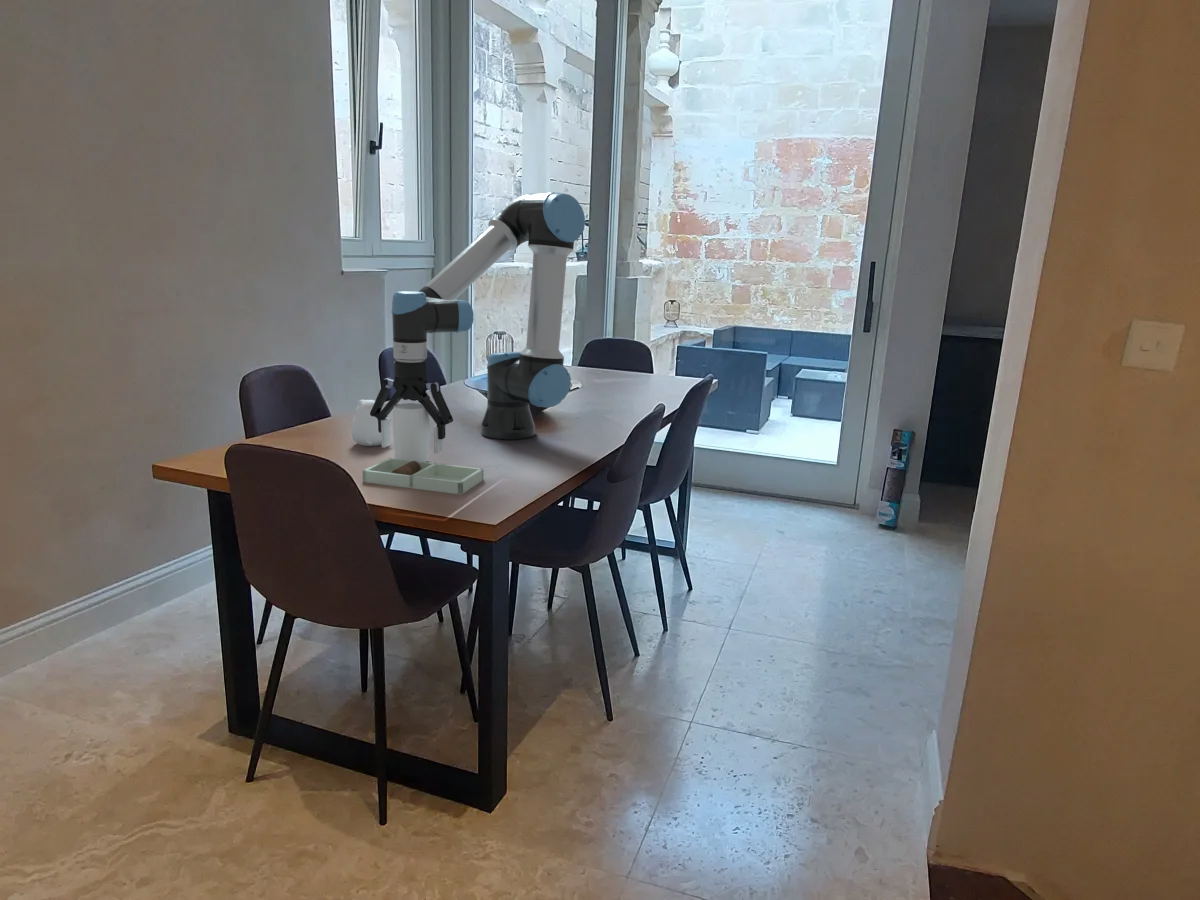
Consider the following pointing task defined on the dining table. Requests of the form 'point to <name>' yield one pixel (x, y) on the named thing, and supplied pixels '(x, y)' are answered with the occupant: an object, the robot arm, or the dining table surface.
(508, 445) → the dining table surface
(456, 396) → the dining table surface
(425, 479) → the caddy
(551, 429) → the dining table surface
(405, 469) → the dowel
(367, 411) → the figurine
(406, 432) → the cup
